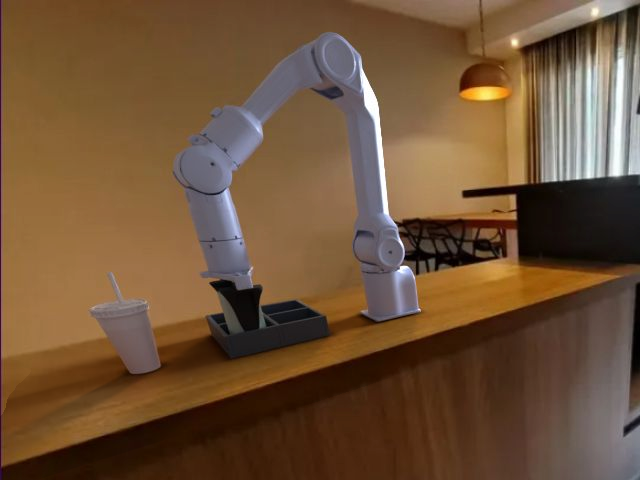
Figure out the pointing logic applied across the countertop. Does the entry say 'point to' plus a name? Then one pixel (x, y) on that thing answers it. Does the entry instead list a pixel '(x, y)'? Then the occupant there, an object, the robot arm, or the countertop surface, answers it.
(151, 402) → the countertop surface
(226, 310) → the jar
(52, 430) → the countertop surface
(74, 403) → the countertop surface
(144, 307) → the smoothie
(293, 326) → the tray
